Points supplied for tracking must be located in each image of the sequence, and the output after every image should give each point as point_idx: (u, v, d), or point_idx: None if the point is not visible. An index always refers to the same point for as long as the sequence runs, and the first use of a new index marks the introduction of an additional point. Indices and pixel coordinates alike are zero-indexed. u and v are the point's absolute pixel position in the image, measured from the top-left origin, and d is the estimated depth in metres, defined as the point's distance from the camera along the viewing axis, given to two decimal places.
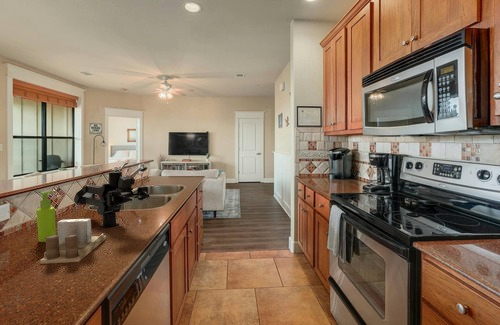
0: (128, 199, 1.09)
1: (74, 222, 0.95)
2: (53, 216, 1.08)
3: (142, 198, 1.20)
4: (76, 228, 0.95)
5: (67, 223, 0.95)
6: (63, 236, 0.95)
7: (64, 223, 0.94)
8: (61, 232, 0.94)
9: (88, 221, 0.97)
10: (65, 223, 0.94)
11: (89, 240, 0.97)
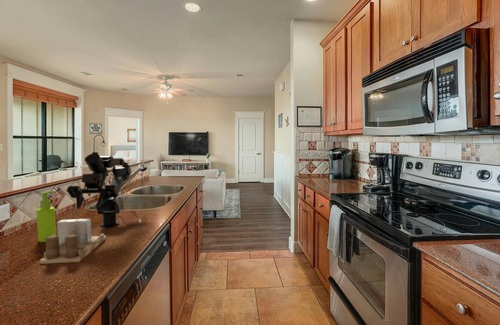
0: None
1: (74, 222, 0.95)
2: (53, 216, 1.08)
3: None
4: (76, 228, 0.95)
5: (67, 223, 0.95)
6: (63, 236, 0.95)
7: (64, 223, 0.94)
8: (61, 232, 0.94)
9: (88, 221, 0.97)
10: (65, 223, 0.94)
11: (89, 240, 0.97)
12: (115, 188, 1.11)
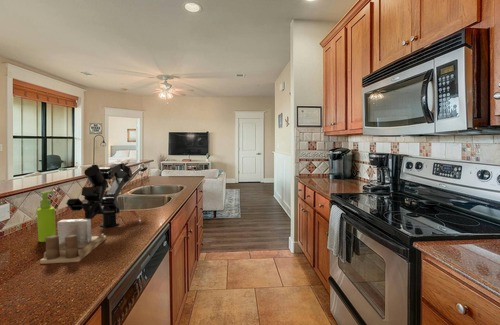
0: None
1: (74, 222, 0.95)
2: (53, 216, 1.08)
3: None
4: (76, 228, 0.95)
5: (67, 223, 0.95)
6: (63, 236, 0.95)
7: (64, 223, 0.94)
8: (61, 232, 0.94)
9: (88, 221, 0.97)
10: (65, 223, 0.94)
11: (89, 240, 0.97)
12: (115, 201, 1.11)
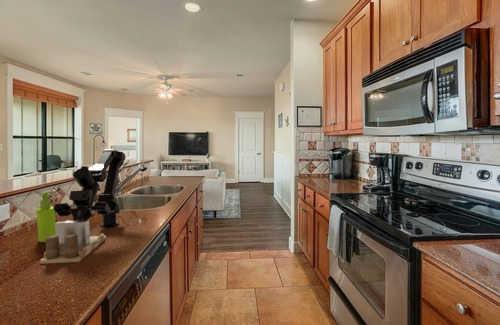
0: None
1: (72, 223, 0.94)
2: (53, 216, 1.08)
3: None
4: (74, 229, 0.94)
5: (65, 224, 0.93)
6: (61, 237, 0.93)
7: (62, 224, 0.93)
8: (59, 233, 0.93)
9: (86, 222, 0.95)
10: (63, 224, 0.93)
11: (87, 241, 0.96)
12: (106, 205, 1.02)
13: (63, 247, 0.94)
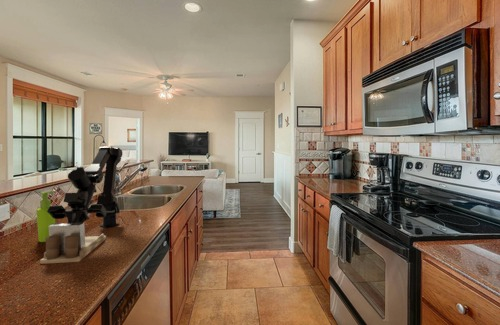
0: None
1: (66, 226, 0.90)
2: None
3: None
4: (68, 233, 0.90)
5: (59, 227, 0.90)
6: None
7: (56, 227, 0.90)
8: None
9: (81, 225, 0.92)
10: (57, 227, 0.90)
11: (82, 245, 0.92)
12: (102, 208, 0.99)
13: None
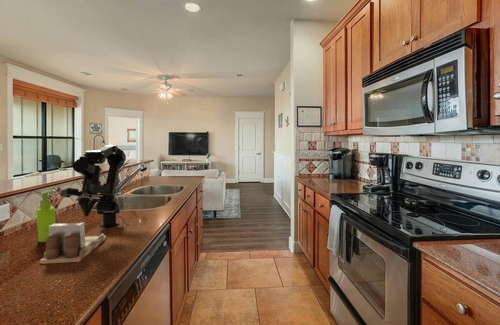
0: (84, 214, 1.05)
1: (66, 226, 0.90)
2: (53, 216, 1.08)
3: None
4: (68, 233, 0.90)
5: (59, 227, 0.90)
6: None
7: (56, 227, 0.90)
8: None
9: (81, 225, 0.92)
10: (57, 227, 0.90)
11: (82, 245, 0.92)
12: None
13: None
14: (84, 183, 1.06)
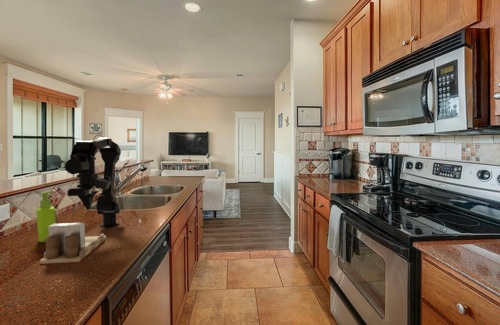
0: (87, 207, 1.06)
1: (66, 226, 0.90)
2: (53, 216, 1.08)
3: None
4: (68, 233, 0.90)
5: (59, 227, 0.90)
6: None
7: (56, 227, 0.90)
8: None
9: (81, 225, 0.92)
10: (57, 227, 0.90)
11: (82, 245, 0.92)
12: None
13: None
14: (85, 178, 1.03)
